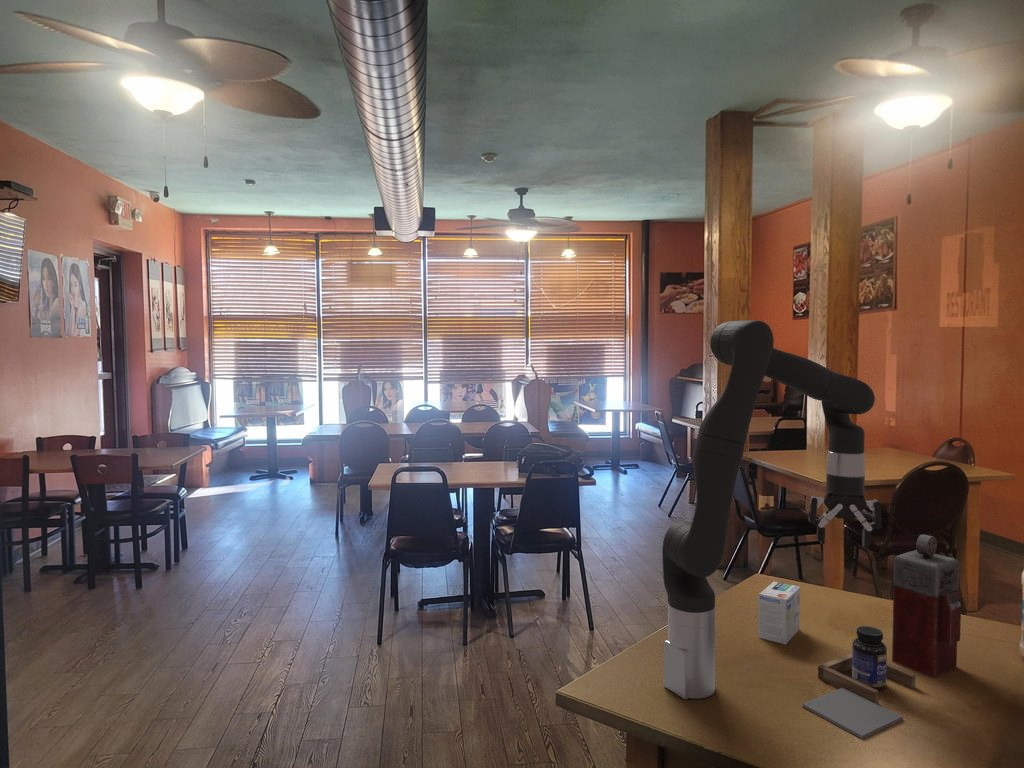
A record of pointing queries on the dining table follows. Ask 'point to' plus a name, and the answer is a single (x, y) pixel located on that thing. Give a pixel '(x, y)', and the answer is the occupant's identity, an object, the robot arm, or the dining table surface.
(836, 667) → the frame
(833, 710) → the rubber mat
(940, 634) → the red rectangular canister
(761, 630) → the light bulb box
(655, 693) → the dining table surface
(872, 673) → the pill bottle
